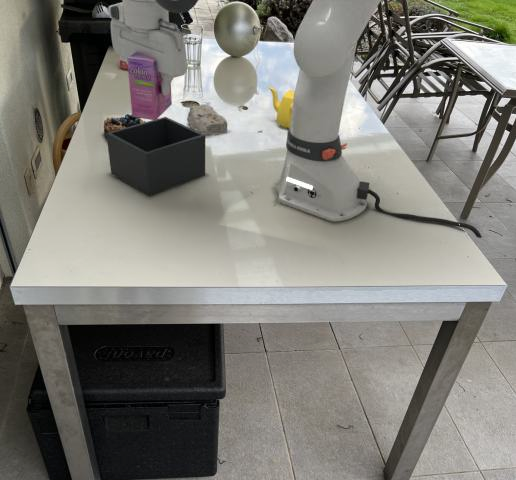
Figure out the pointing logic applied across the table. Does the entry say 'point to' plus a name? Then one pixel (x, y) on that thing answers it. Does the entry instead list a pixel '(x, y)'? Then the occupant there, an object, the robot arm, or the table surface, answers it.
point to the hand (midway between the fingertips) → (151, 88)
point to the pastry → (120, 123)
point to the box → (146, 88)
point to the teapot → (283, 107)
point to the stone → (206, 120)
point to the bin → (156, 155)
